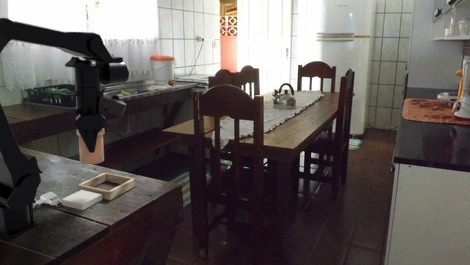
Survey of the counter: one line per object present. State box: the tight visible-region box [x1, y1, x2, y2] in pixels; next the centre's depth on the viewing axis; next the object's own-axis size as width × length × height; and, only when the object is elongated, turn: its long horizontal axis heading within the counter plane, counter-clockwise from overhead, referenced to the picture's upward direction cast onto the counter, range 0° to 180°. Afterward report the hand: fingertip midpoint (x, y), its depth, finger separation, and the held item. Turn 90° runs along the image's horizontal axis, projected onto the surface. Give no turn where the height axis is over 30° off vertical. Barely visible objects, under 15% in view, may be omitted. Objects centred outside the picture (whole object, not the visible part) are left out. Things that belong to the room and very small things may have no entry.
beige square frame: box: [77, 172, 137, 201], centre depth 99 cm, size 10×10×2 cm
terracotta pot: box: [76, 128, 105, 165], centre depth 92 cm, size 6×6×8 cm
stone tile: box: [61, 190, 103, 211], centre depth 91 cm, size 6×6×2 cm
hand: (91, 149), depth 92 cm, fingers closed on terracotta pot, 6 cm apart
